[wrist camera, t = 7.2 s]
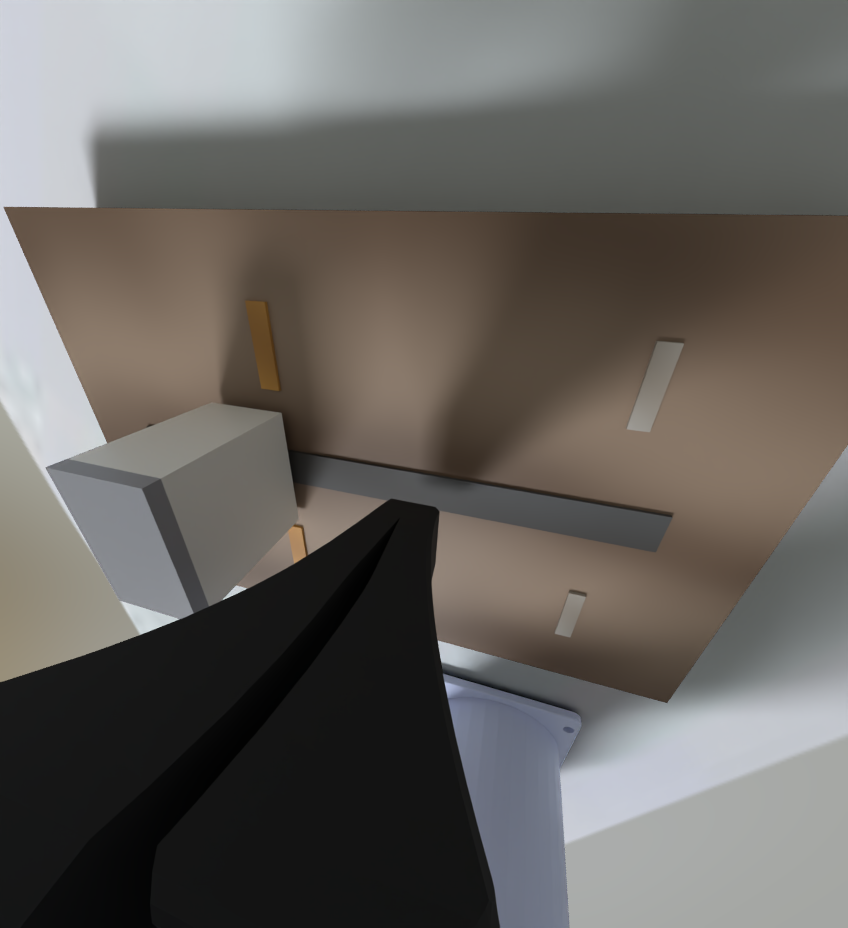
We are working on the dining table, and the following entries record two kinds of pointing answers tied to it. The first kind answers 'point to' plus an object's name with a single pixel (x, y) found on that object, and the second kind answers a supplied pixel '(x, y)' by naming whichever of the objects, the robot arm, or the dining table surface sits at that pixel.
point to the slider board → (493, 394)
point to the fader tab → (183, 504)
